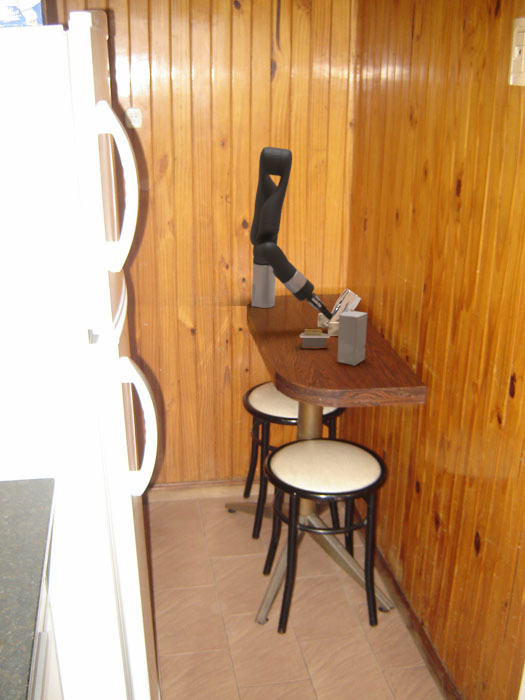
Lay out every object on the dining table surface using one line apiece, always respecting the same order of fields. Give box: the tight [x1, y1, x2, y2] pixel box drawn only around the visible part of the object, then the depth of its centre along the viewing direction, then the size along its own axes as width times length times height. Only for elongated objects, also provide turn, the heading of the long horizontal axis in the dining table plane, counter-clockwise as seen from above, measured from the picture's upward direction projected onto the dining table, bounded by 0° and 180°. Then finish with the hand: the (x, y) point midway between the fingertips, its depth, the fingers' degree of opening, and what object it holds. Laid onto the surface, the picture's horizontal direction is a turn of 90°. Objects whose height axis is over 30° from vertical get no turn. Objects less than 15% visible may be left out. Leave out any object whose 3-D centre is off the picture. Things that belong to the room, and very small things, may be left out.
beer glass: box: [323, 288, 362, 328], centre depth 263 cm, size 7×7×15 cm
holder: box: [317, 312, 339, 336], centre depth 265 cm, size 12×13×7 cm
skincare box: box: [337, 310, 368, 367], centre depth 232 cm, size 8×7×16 cm
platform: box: [299, 328, 331, 349], centre depth 246 cm, size 12×18×7 cm, turn 95°
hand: (330, 316), depth 262 cm, fingers closed
